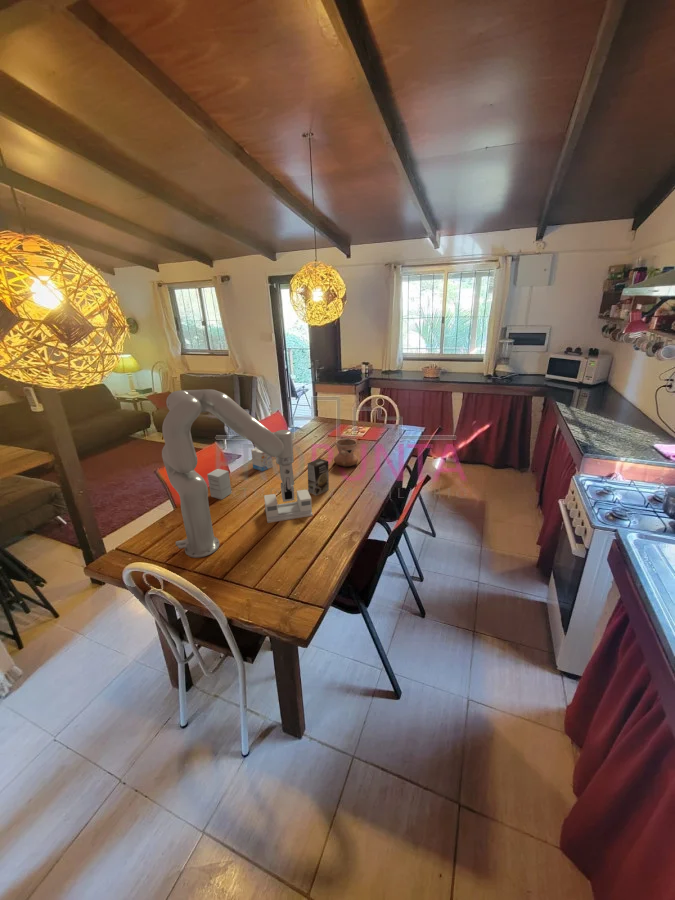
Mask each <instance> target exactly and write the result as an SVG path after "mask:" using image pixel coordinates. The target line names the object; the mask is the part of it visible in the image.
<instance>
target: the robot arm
mask: <svg viewBox="0 0 675 900" xmlns="http://www.w3.org/2000/svg"><path fill="white" fill-rule="evenodd" d="M165 403H166V408H167V410H169V411H168V413H167V414H166V416H165V417H164V419H163V422H162V427H161V428H162V429H161V430H162V436H163V440H164V445H163V448H162V449H161V458H162V461H163V465H164V467H165V470H166V471H165V472H166V475H167V478H168V480H169V483H170V484H171V486H172V488H174V490H175V492H177V494H178V495H179V500H180V509H181V510H180V512H181V515H182V521H183V525H184V530H185V535H186V538H185V539H182V540H176V541H175V546H176V547H178V549H179V550H181V549H184V553H185V555H187V557H190V558H194V559H195V558H196V559H197V558H204V557H207V556H209V555H213V554H214V553H215V552H216V551H217V550H218V549H219V548H220V540H219V538H218V537H217V536H215V535H214V528H213V522H212V516H211V509H210V504H209V487H208V483H207V482H206V480H205V479H204V477H203V476H202V475H200V474H199V473H198V472H197V471H196V470H195V469H196V467H197V465H198V456H197V455H198V454H197V451H196V450H195V446H194V445H195V444H194V441H193V438H192V433H191V428H192V426H193V423H194V422H195V421H196V420H197V419H198V417H200V414H201V413H205V412H206V413H207V412H208V413H210V414H212V416H214V417H216V418H217V419H218V420H220V422H222V423H223V424H225V425H226V426H228V428H229V429H231V430H232V431H234V433H236V434H237V435H239V436H240V437H242V438H244V439H245V440H248V441H250V442H252V443H253V444H254V446H255V447H256V448H257V449H259V450H260V451H262V452H264V453H266V454H267V455H269V456H271V457H272V458H275V462H276V465H278V466H279V467H278V468H279V475H280V480H281V483H283V486H285V491H284V492H285V499H286V500H287V499H292V490H291V484H292V485H293V486H294V485H295V481H294V480H295V478H294V477H295V476H294V470H293V463H294V462H295V461H294V444H293V434H292V432H291V431H290V430H288V429H280V430H277V431H273V432H272V431H271V430H270V429H268V428H267V427H266V426H264V425H263V424H262V423H261V422H259V421H258V420H257V419H256V418H255V417H253V416H252V415H251V414H249V413H248V411H246V410H245V409H244V408H243V407H241V405H239V404H238V403H237V402H236V401H234V399H232V398H231V397H230V396H228V395H227V394H226V393H224V392H222V391H218V390H216V389H211V388H210V389H207V388H205V389H182V390H181V389H180V390H176V391H175V390H174V391H173V392H171V393H169V394H168V396H167V397H166V402H165ZM286 483H287V484H286ZM285 484H286V485H285ZM286 486H287V488H286Z"/></svg>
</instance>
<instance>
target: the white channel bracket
mask: <svg viewBox="0 0 675 900" xmlns="http://www.w3.org/2000/svg"><path fill="white" fill-rule="evenodd" d="M310 494H311V493H310V492H308V488H307V489H300V490H296V498H297V499H296V501H294V502H293V501H292V502H291V501H290V502H285V503H280V504H278V501H277V496H276V493H270V494H265V495H263V498H264V499H263V501H264V511H265V515H266V521H267V523H268V524H269V523H275V522H281V521H289V520H294V519H295V520H296V519H299V518H305V517H312V516H313V511H312V510H313V508H312V506H313V505H312V496H311V495H310Z"/></svg>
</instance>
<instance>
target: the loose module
mask: <svg viewBox="0 0 675 900" xmlns="http://www.w3.org/2000/svg"><path fill="white" fill-rule="evenodd" d="M286 484H287V483H286ZM286 484H285V485H286ZM286 488H287V486H286ZM291 490H292V499H287V500H286V499H285V492H284V491H285V486H283V483H282V482H280V491H281V498H282V503H284V502H285V503H287V502H291V501H292V502H293V501H295V488H294V485H292V484H291Z"/></svg>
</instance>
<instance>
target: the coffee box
mask: <svg viewBox="0 0 675 900" xmlns="http://www.w3.org/2000/svg"><path fill="white" fill-rule="evenodd" d="M329 477H330V476H329V460H326V459H322V458H317V459H315V460H312V461H310V462H307V490H308V492H309V494H312V495H314V496H318V495H319V496H320V495H321V494H323V493H326V492H328V491H329V490H330V489H329V488H330V487H329V485H330V484H329V483H330V482H329Z"/></svg>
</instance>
